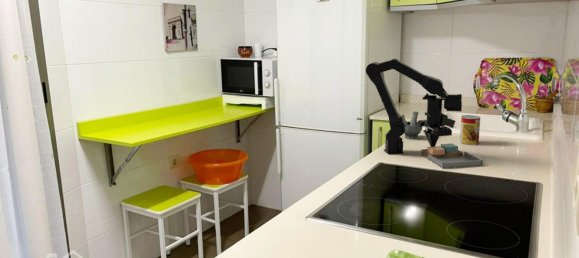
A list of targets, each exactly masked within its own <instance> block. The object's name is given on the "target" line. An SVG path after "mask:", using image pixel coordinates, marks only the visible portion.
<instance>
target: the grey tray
mask: <svg viewBox="0 0 579 258" xmlns="http://www.w3.org/2000/svg"><path fill="white" fill-rule="evenodd" d="M427 160H428V161H430V162H431V161H432V162H431V163H433V164H434V163H435V165H436V164H437V165H436V166H437V167H439V166H440V167H439V168H441V167H442V169H452V168H453V167H456V168H466V167H467V166H468V167H478V166H479V167H480V166H483V159H481V158H479V157H477V156H476V155H473V154H470V153H469V152H467V151H464V152H463V156H458V157H445V158H435V157H433V156H431V155H428V158H427ZM453 169H454V168H453Z"/></svg>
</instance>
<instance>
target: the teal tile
mask: <svg viewBox="0 0 579 258" xmlns="http://www.w3.org/2000/svg"><path fill="white" fill-rule="evenodd" d="M440 147H442V148H443V149H445V152H454V151H458V150H459V145H456V144H454V143H440Z"/></svg>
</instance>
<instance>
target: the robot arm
mask: <svg viewBox="0 0 579 258" xmlns="http://www.w3.org/2000/svg"><path fill="white" fill-rule="evenodd" d="M391 70H394V71H396V72H398V73H399V74H401V75H403V76H405V77H407V78H408V79H411V80H412V81H414V82H415V83H418V84H419V85H420V86H421V87H422V88H423V89H425V90H426V94H425V95H424V96H423V97H422V98H421V99H422V100H424V101H426V111H425V112H424V116H426V119H418V120H417V127H419V128H421V127H422V126H423V127H424V129H422V132H423V133H424V135H425V137H426V139H427V142H428V143H429V147H434V146H437V142H438V140H439V138H440V137H446V136H447V137H450V136H452V135H453V130H452V129H453V128H454V126H455V124H456V120H454V119H452V118H449V116H448V115H447V114H445V113H443V109H444V110H446V112H462V111H463V109H462V107H463V101H462V99H463V94H462V93H456V94H453V93H451V94H450V93H448V92H447V91H446V89H445V88H444V83H443V81H442V80H441V79H439V78H438V77H437V78H436V77H433V76H431V75H428V74H424V73H422V72H420V71H418V70H417V69H415V68H413V67H411V66H410V65H408V64H405V62H402V61H400V60H399V59H397V58H392V59H390V60H386V61H383V62H377V61H374V62H371V63H369V64H368V65H367V66H366V67H365V73H366V75H367V77H368V79H369V81H370V82H372V83H373V85H374V86H375V88H376V91H377V93H378V96H379V98H380V101H382V102H381V103H382V105H383V107H384V109H385V111H386V114H387V116H388V124H389V128H390V129H389V130H388V131H387V132H386V133H385V142H384V143H385V145H384V147H385V148H384V149H383V152H385V153H387V154H388V155H397V154H401V155H402V154H404V141H403V138H402V136H403V135H405V134H404V133H405V131H406V129H407V123H408V122H409V121H407V120H406V117H405V114H402V115H401V114H400V113H399V112H398V110H397V106H396V105H395V102H394V100H393V98H392V95H391V93H390V91H389V87H388V86H387V84H386V79H385V73H384V72H387V71H391ZM423 127H422V128H423Z"/></svg>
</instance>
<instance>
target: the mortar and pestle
mask: <svg viewBox="0 0 579 258" xmlns="http://www.w3.org/2000/svg"><path fill="white" fill-rule="evenodd" d="M418 115H419V112H418V111H415V110H414V111H412V116H411V119H410V121H407V122H408V123H407V129H406V131H405V133H404V134H403V135H404V138H405V139H407V140H418V139H419V134H421V133H422V132H423V127H424V126H422V127H421V128H419V127H417V122H418Z"/></svg>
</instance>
